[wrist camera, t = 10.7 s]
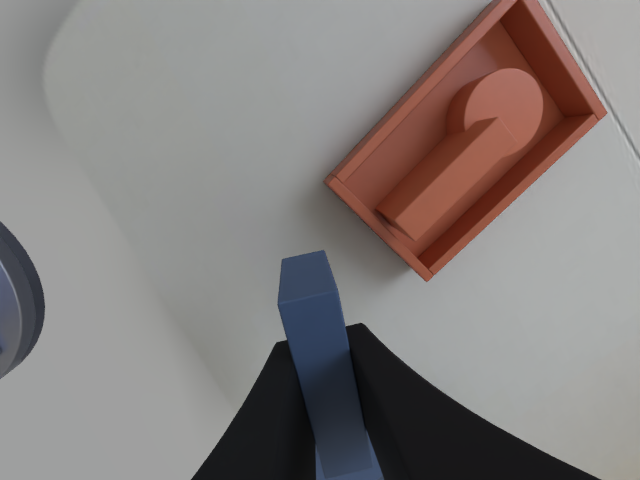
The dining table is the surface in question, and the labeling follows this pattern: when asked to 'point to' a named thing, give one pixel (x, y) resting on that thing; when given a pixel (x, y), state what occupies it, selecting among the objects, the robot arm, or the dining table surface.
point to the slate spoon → (325, 368)
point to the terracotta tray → (430, 129)
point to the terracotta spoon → (466, 148)
